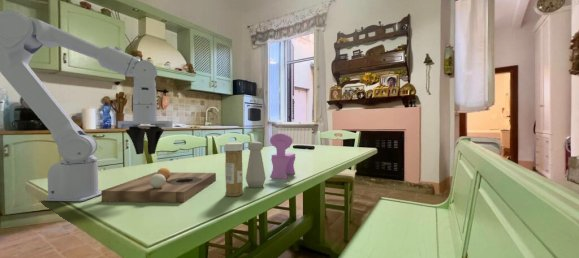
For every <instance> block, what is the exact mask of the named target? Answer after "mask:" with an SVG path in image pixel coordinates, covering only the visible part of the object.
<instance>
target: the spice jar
mask: <svg viewBox="0 0 579 258" xmlns="http://www.w3.org/2000/svg"><path fill="white" fill-rule="evenodd" d="M243 150H244V145H243V143H242V142H237V141H236V142H233V141H232V142H225V143H224V152H225V153H224V154H225V163H224V167H225V168H224V169H225V170H224V171H225V193H224V194H225V196H228V197H239V196H242V195H243V194H244V191H243V190H244V189H243V181H244V180H243V178H244V177H243Z"/></svg>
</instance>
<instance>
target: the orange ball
mask: <svg viewBox="0 0 579 258" xmlns="http://www.w3.org/2000/svg"><path fill="white" fill-rule="evenodd" d="M156 172H157V174H162V175H163V176H164V177H165V179H166V180H167V179H168V178H169V177H170V172H171V171H170V169H169V168H166V167H161V168H160V169H158V170H157V171H156Z"/></svg>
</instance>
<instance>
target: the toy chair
mask: <svg viewBox="0 0 579 258" xmlns="http://www.w3.org/2000/svg"><path fill="white" fill-rule="evenodd" d="M293 141H294V140H293V138H292V137H291V135H289V134H285V133H283V132H281V133H275V134H273V135H271V137H270V139H269V142H270V144H271V145H272V146H273V147H274V148H275V149H276V153H275V154H271V159H270V161H271V164H272V171H271V173H270V176H269V178H270V179H271V178H272V179H273V178H274V179H284V180H285V179H286V180H287V179H288V176H287V174H288V175H296V171H295V166H294V165H295V161H296V153H286V150H287V149H288V148H290V147H291V145H292V144H293Z"/></svg>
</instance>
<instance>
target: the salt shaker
mask: <svg viewBox="0 0 579 258" xmlns="http://www.w3.org/2000/svg"><path fill="white" fill-rule="evenodd" d="M247 147H248V148H247V149H248V150H249V155H248V162H247V163H248V164H247V168H246V174H245V175H246V176H245V182H246V184H247V186H248V188H249V187H250V188H262V187H263V186H264V184H265V183H266V182H265V181H266V179H267V177H266V173H265V168H264V162H263V156H262V150H263V147H264V145H263V142H260V141H250V142H249V143H248V145H247Z"/></svg>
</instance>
